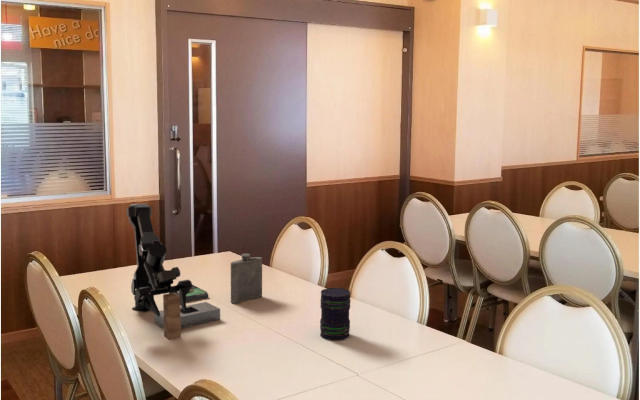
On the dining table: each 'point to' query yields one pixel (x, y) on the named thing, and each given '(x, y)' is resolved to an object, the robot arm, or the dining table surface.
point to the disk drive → (195, 294)
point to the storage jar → (335, 314)
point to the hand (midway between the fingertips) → (172, 313)
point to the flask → (246, 279)
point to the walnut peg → (172, 315)
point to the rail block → (193, 315)
